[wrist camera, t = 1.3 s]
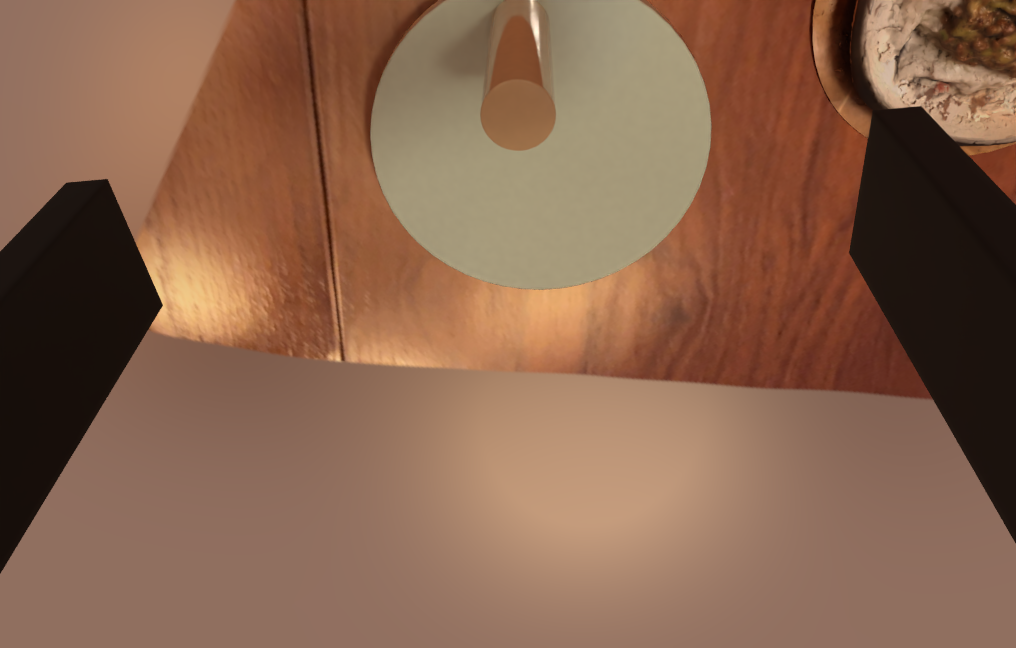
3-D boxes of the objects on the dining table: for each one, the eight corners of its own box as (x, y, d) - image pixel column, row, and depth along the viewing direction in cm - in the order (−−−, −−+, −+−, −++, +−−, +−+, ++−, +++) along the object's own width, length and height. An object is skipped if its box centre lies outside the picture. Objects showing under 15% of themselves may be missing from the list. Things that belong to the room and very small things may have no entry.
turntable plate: (314, 174, 39) (258, 298, 31) (498, -118, 31) (489, -55, 23) (568, 326, 44) (577, 466, 36) (779, 105, 36) (851, 220, 28)
